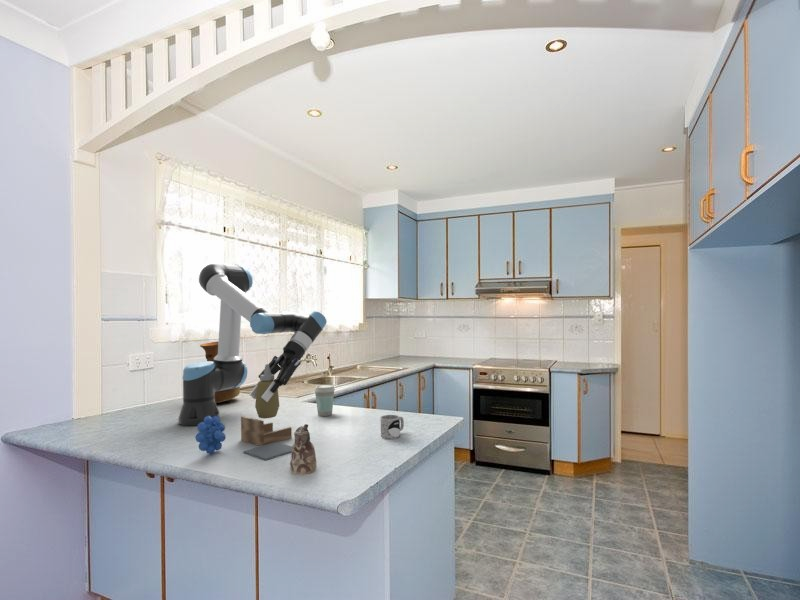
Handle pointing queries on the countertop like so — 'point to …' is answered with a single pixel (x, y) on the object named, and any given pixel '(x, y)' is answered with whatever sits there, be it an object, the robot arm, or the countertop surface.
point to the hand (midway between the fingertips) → (258, 398)
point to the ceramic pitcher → (212, 352)
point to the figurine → (302, 452)
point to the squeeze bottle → (261, 405)
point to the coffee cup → (324, 399)
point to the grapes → (210, 434)
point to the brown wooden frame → (262, 432)
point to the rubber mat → (269, 450)
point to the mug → (391, 426)
